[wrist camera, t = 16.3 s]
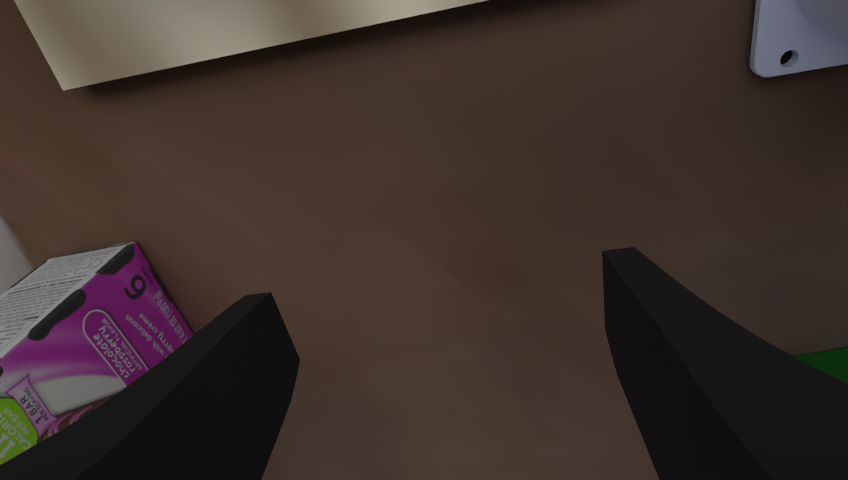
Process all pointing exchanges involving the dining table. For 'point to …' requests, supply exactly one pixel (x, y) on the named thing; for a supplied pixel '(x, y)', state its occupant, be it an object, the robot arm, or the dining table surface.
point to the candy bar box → (79, 339)
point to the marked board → (188, 30)
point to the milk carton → (829, 362)
